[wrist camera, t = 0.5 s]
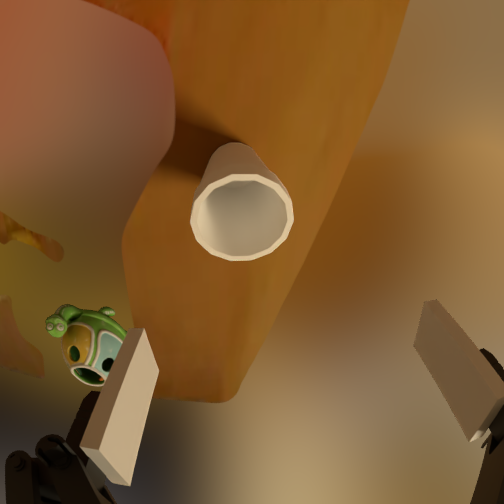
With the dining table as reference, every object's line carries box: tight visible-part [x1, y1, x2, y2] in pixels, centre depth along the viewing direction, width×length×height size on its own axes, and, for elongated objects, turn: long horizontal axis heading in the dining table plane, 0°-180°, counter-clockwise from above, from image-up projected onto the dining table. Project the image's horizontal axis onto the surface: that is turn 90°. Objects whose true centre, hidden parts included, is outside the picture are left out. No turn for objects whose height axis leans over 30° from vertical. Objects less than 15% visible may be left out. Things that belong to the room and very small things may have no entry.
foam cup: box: [190, 143, 294, 261], centre depth 34 cm, size 10×9×13 cm
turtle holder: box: [46, 304, 127, 386], centre depth 49 cm, size 12×18×12 cm
